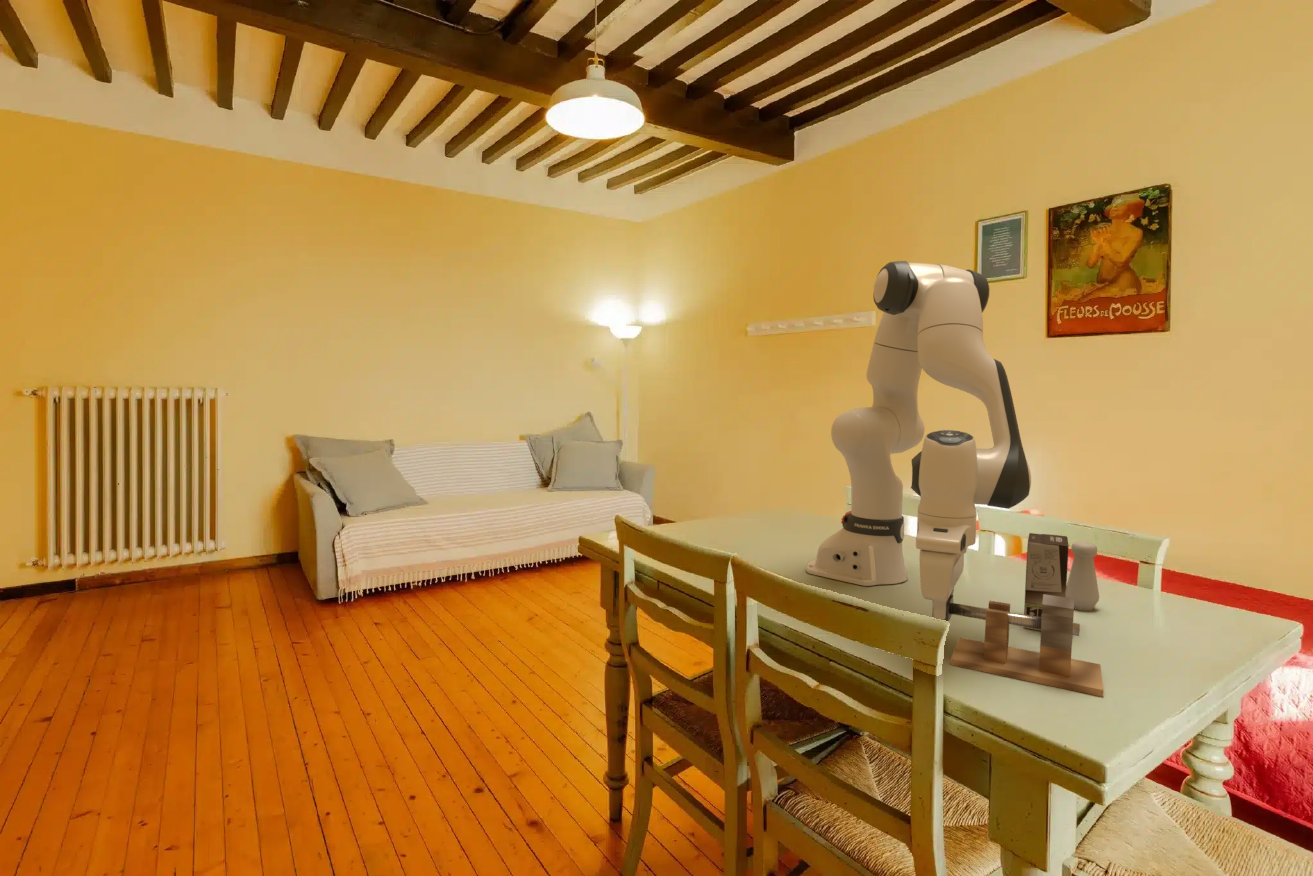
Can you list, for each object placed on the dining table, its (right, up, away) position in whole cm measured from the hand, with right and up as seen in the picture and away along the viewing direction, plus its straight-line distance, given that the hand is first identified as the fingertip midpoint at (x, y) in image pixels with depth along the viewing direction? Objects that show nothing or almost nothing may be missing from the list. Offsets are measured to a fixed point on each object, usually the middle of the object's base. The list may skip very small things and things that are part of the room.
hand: (942, 612), depth 108 cm
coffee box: (+24, -6, +13) cm, 28 cm away
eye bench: (+10, -7, -6) cm, 14 cm away
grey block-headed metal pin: (+8, -1, -5) cm, 9 cm away
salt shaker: (+37, -5, +21) cm, 43 cm away
